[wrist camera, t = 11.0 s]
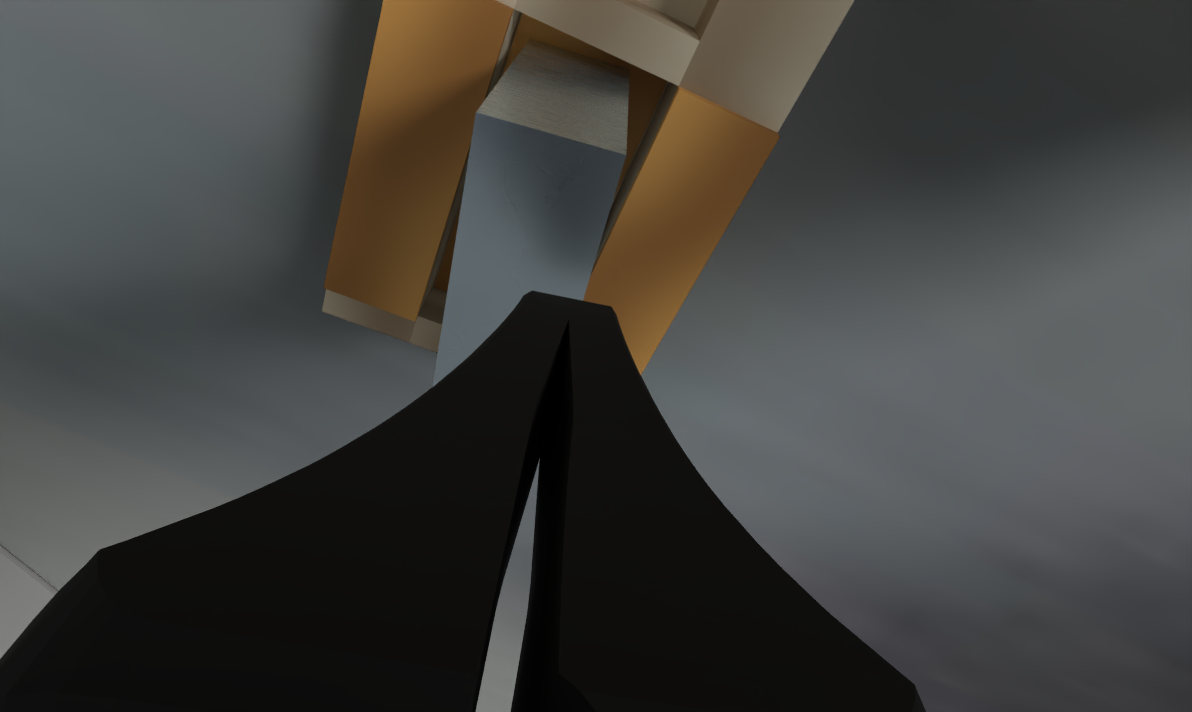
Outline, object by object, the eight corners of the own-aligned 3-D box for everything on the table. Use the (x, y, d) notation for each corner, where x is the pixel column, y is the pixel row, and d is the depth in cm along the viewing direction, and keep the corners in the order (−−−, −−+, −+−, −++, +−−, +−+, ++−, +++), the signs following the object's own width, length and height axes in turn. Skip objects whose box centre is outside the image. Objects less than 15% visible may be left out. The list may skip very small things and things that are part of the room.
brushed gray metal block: (629, 68, 16) (626, 154, 11) (563, 306, 20) (536, 455, 15) (529, 38, 16) (476, 112, 11) (481, 285, 20) (425, 429, 15)
